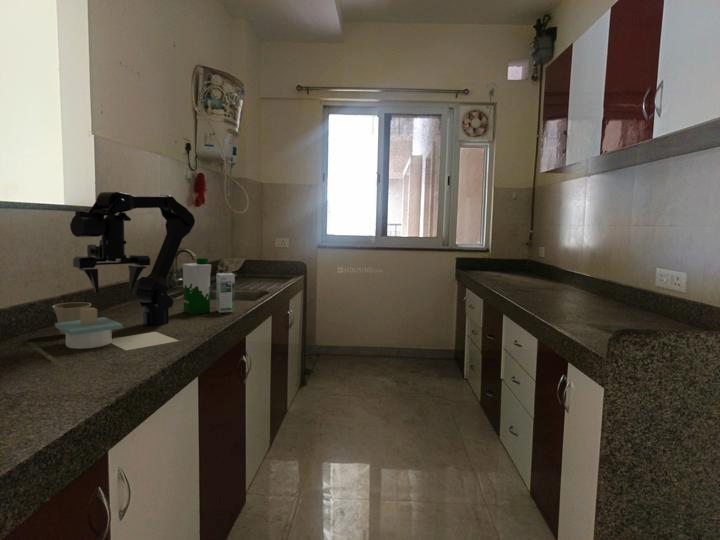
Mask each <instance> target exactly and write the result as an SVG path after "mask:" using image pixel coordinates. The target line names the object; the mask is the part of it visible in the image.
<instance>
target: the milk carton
mask: <svg viewBox="0 0 720 540" xmlns="http://www.w3.org/2000/svg"><path fill="white" fill-rule="evenodd" d="M211 271H212V264H210V263H209V258H206V257H198V258H196V262H195V263H194V262H193V263H191V262H189V263H182V273H183V274H182V279H183V282H182V287H183V297H182V299H183V312H184V313H186V314H189V315H199V314H198V313H201V314H207V313H206V312H210V313H211Z"/></svg>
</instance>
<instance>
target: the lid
mask: <svg viewBox="0 0 720 540" xmlns="http://www.w3.org/2000/svg"><path fill="white" fill-rule="evenodd" d="M54 327H55V328H56V329H58V330H59V329H60V330H62V331H64V332H65V333H67V334H69V335H77V334H84V333H91V332H98V331H105V330H117V329H118V330H119V329H123V327H124V326H123V324H122V323H121V322H118V321H116V320H113V319H110V318H108V317H105V316H102V317H98V308H95V307H93V306H92V307H91V306H90V308H81V309H80V320H78V321H70V322H61V323H58V322H55V324H54ZM60 330H59V331H60Z"/></svg>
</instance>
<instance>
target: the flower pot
mask: <svg viewBox="0 0 720 540" xmlns="http://www.w3.org/2000/svg"><path fill="white" fill-rule="evenodd" d="M91 306H92V303H91V302H83V301H81V302H78V301H77V302H76V301H75V302H65V303H63V302H62V303H57V304H54V305H52V309H53V311H54V313H55V314H56V320H57V323H61V322H70V321H78V320H80V309H81V308H91ZM58 330H59V335H66V333H65V332H64V331H62V330H60V329H58Z"/></svg>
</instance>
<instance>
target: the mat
mask: <svg viewBox="0 0 720 540" xmlns="http://www.w3.org/2000/svg"><path fill="white" fill-rule="evenodd" d="M179 341H180V340H178V339H176V338H173V337H171V336H167V335H165V334H162V333H160V332H157V331H151V332H147V333H140V334H132V335H126V336H120V337H114V338H113V337H112V341H111V342H110V344H112V345H114V346H116V347H117V348H120V349H122V350H124V351H131V350H137V349H143V348H148V347H153V346H159V345H164V344H170V343H176V342H179Z"/></svg>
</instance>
